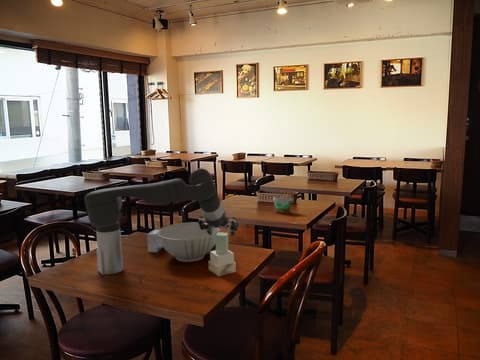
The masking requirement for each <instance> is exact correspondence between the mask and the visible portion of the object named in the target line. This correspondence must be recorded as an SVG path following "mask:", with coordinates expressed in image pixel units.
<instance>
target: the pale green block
mask: <svg viewBox="0 0 480 360" xmlns="http://www.w3.org/2000/svg"><path fill="white" fill-rule="evenodd" d="M215 250H216V254H226V253H227V252H228V250H229V232H220V231H219V232H218V233H217V234H216V243H215Z"/></svg>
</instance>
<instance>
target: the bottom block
mask: <svg viewBox="0 0 480 360" xmlns="http://www.w3.org/2000/svg"><path fill="white" fill-rule="evenodd" d="M208 271H210V272H211V273H213V274H214V275H216V276H217V277H220V276H225V275H228V274H233V273H236V272H237V262H235V261H234V263H231V264H227V265H222V266H217V265H215V264H214V263H213V262H211V261H210V260H208Z"/></svg>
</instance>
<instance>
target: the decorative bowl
mask: <svg viewBox="0 0 480 360" xmlns="http://www.w3.org/2000/svg"><path fill="white" fill-rule="evenodd" d="M205 224H206V225H207V223H206V222H205ZM220 229H221V228H214V227H213V228H212V235H209V234H208V233H207V231H206V229H204V230H201V229H200V226H199V223H198V222H182V223H175V224H170V225H167V226H164V227H162V228H160V229H158V230H159V231H158V233H157V234H158V238H159V240H160V242H161V244H162V246H163V249H165V251H166V252H167V253H168V254H170V255H171V256H173V257H174V258H175V260H177V261H179V262H182V263H183V262H184V263H191V262H193V263H194V262H198V261H200V260H202V259H204V257H205V255H207V254H208V253H210V251H211V250H212V249H213V248H214V247H215V246H216V234H217V233H218V232H220Z"/></svg>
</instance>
